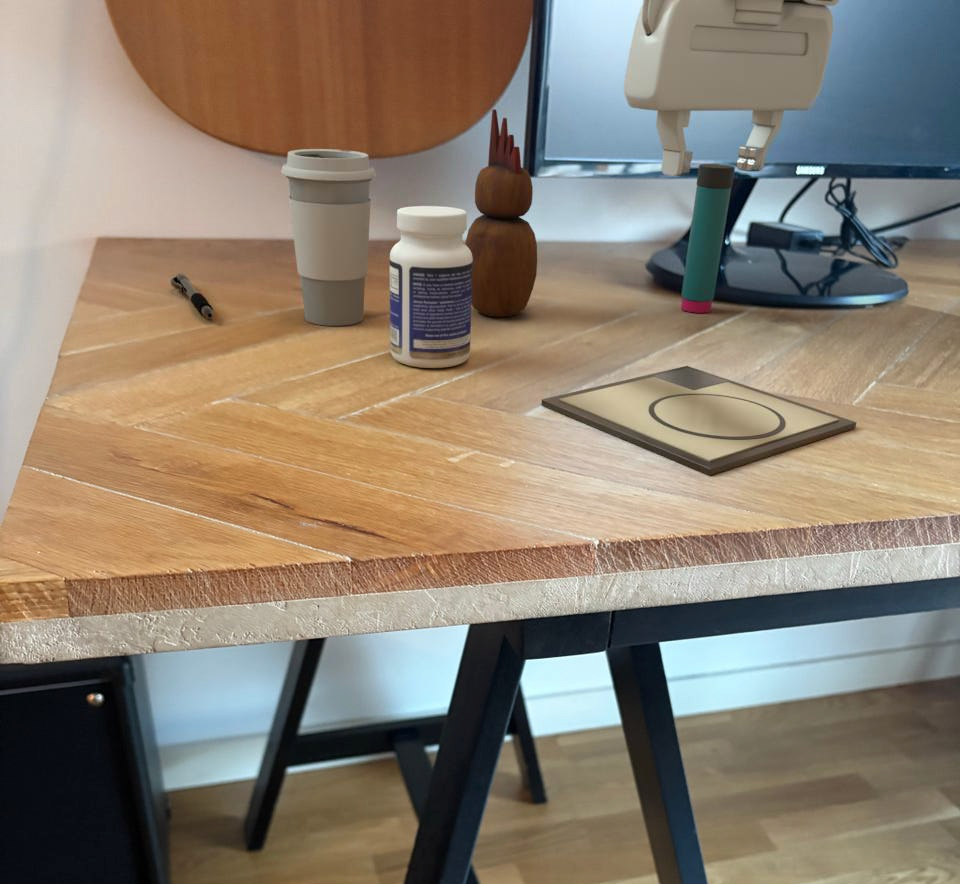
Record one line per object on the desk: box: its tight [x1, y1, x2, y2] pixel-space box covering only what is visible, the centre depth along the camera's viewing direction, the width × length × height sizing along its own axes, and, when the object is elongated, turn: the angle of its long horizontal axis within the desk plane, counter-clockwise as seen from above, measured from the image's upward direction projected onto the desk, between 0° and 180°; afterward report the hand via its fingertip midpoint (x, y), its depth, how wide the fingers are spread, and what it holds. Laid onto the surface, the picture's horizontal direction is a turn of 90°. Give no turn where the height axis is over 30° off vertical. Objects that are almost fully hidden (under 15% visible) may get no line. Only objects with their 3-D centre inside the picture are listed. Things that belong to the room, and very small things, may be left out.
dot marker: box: [680, 163, 736, 314], centre depth 84 cm, size 3×3×12 cm
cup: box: [281, 148, 377, 327], centre depth 77 cm, size 7×7×12 cm
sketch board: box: [540, 365, 857, 476], centre depth 63 cm, size 14×14×1 cm
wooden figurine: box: [464, 109, 538, 318], centre depth 80 cm, size 7×6×15 cm
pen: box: [170, 273, 214, 319], centre depth 82 cm, size 14×2×1 cm, turn 24°
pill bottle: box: [389, 205, 473, 369], centre depth 69 cm, size 6×6×10 cm
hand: (713, 173), depth 82 cm, fingers open, 8 cm apart
